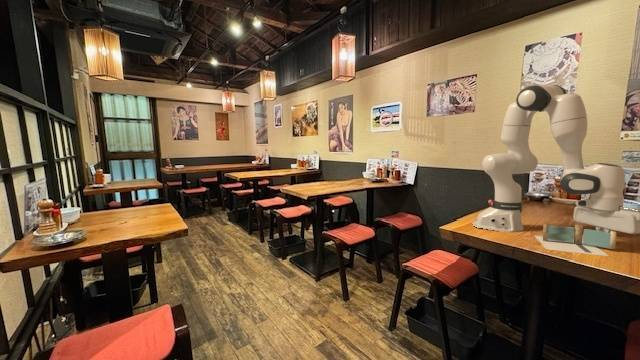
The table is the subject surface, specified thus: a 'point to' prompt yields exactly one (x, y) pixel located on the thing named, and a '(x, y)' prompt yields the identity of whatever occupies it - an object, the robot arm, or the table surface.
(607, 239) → the hinged panel
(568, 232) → the fixed fence
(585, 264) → the table surface
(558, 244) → the card
